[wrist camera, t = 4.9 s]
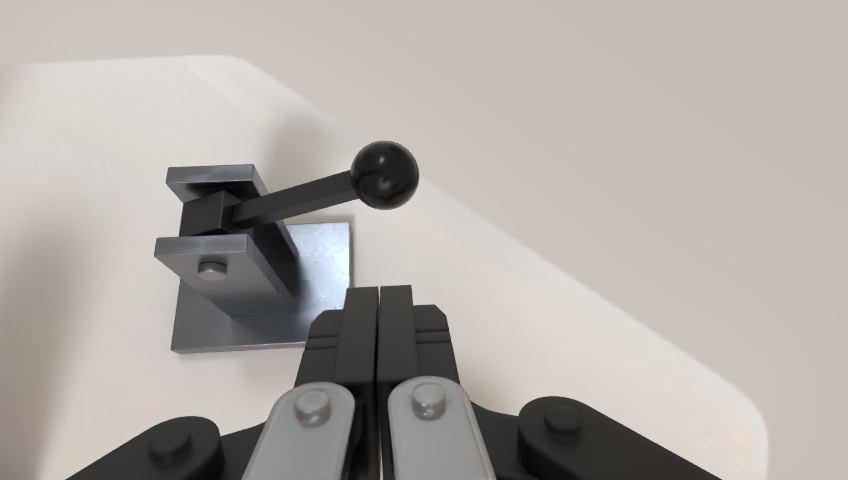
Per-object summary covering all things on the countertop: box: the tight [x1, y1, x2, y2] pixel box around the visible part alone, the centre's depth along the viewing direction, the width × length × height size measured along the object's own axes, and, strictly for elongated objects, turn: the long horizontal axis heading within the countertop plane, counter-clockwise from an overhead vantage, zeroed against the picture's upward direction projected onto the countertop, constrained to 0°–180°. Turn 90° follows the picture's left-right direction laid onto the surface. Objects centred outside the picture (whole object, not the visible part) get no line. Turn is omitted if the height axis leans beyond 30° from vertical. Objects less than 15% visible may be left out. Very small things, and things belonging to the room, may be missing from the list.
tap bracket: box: [154, 164, 352, 354], centre depth 31 cm, size 12×9×13 cm
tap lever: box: [179, 141, 419, 241], centre depth 25 cm, size 13×3×3 cm, turn 94°
